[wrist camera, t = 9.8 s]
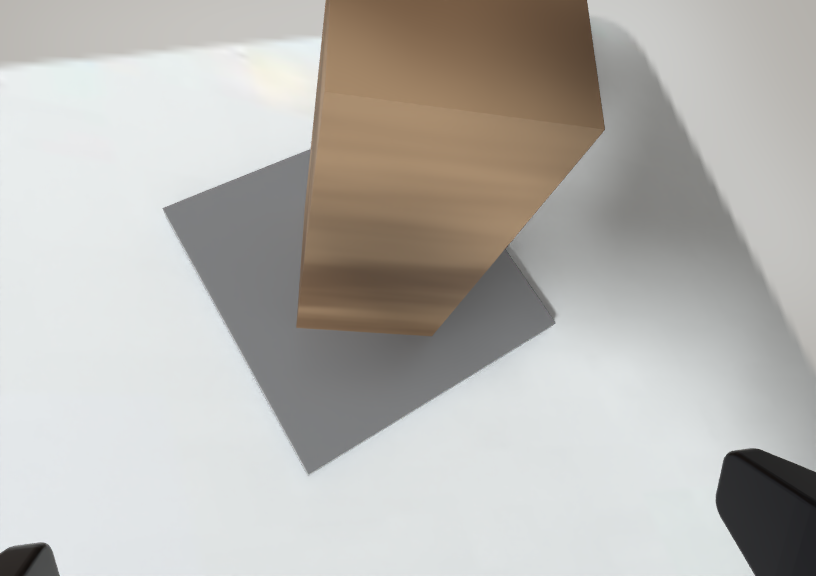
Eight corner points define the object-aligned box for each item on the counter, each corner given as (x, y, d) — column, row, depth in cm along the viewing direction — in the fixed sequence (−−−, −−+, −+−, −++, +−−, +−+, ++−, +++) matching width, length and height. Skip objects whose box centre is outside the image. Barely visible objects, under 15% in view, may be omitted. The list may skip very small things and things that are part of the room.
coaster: (549, 327, 25) (555, 322, 24) (307, 476, 21) (308, 474, 20) (407, 118, 27) (409, 109, 26) (165, 215, 23) (162, 208, 22)
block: (431, 336, 23) (604, 129, 11) (296, 327, 22) (324, 91, 10) (430, 217, 25) (577, -71, 13) (305, 205, 24) (337, -119, 12)
